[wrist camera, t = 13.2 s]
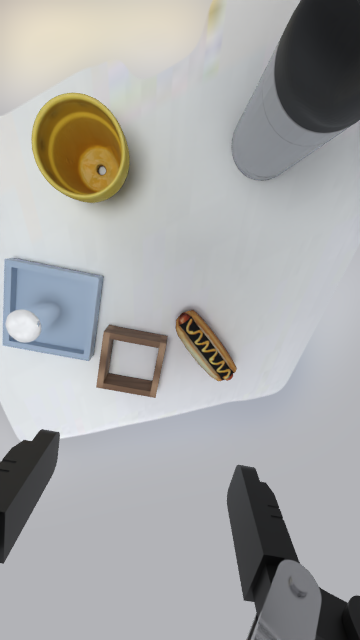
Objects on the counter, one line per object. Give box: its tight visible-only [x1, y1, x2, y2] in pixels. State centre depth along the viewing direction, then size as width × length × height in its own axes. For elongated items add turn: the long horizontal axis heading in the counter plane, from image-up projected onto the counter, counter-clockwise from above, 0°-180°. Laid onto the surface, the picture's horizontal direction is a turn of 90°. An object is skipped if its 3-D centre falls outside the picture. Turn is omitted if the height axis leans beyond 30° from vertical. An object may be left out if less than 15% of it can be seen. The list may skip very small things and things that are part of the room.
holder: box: [96, 325, 167, 398], centre depth 45 cm, size 10×10×4 cm
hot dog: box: [176, 310, 237, 381], centre depth 43 cm, size 5×13×5 cm, turn 37°
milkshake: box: [6, 302, 61, 343], centre depth 38 cm, size 4×5×10 cm
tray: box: [3, 258, 103, 361], centre depth 43 cm, size 14×14×2 cm
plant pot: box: [32, 93, 129, 203], centre depth 34 cm, size 10×10×10 cm
